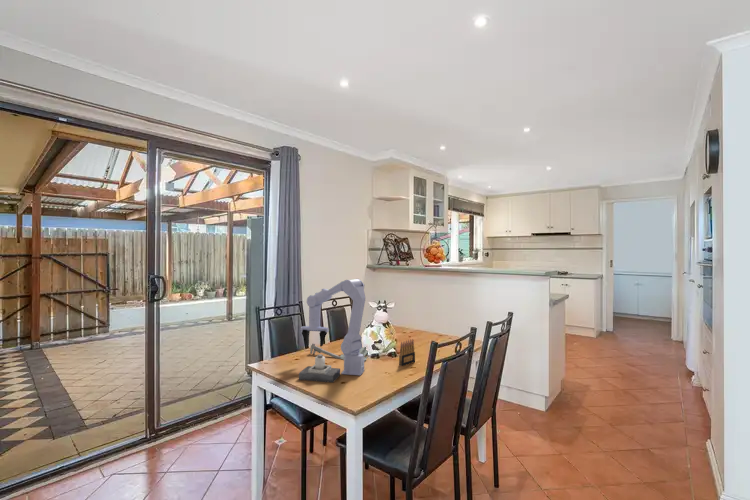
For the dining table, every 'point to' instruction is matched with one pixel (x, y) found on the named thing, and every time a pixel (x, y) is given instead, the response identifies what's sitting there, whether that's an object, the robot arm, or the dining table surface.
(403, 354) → the ammunition clip
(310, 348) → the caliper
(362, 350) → the metal bracket
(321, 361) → the white capped cylinder
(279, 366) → the dining table surface
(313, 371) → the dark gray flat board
